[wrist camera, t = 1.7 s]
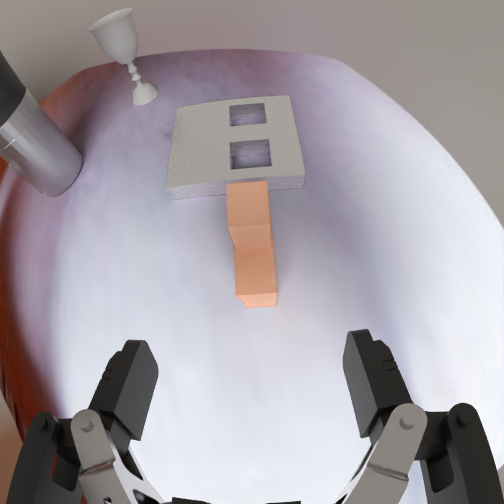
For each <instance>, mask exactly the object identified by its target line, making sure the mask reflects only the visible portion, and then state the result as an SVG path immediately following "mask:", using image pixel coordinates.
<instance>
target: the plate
mask: <svg viewBox="0 0 504 504" xmlns="http://www.w3.org/2000/svg"><path fill="white" fill-rule="evenodd" d="M264 117H265V121H266V123H264V124H251V125H240V126H232V120H240V119H251V118H264ZM258 154H270V163H271V166H268V167H255V168H244V169H233V157H236V156H246V155H258ZM262 180H267V183H268V190H278V189H294V188H303V186H304V180H305V169H304V164H303V159H302V153H301V148H300V143H299V139H298V134H297V129H296V124H295V120H294V115H293V111H292V106H291V102H290V98H289V95H287V96H266V97H253V98H242V99H232V100H224V101H216V102H209V103H202V104H196V105H190V106H184V107H179V108H177V112H176V118H175V124H174V130H173V136H172V143H171V150H170V158H169V166H168V174H167V183H166V189H167V190H168V192H169V193H170V195H171V196H172V198H173V199H174V200H176V199H184V198H193V197H201V196H210V195H220V194H227V186H226V185H229V184H232V183H239V182H250V181H262Z"/></svg>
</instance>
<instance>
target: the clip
mask: <svg viewBox="0 0 504 504" xmlns="http://www.w3.org/2000/svg"><path fill="white" fill-rule="evenodd" d="M226 186H227V228H228V231H229V233H230V236H231V238H232V241H233V243H234V260H235V284H236V296H237V297H238V298H239V300H240V301H242V303H243V304H244V305H245V306H246V307H247V308H254V307H268V306H276V298H277V286H276V273H275V261H274V249H273V237H272V226H271V215H270V204H269V193H268V183H267V180H262V181H250V182H239V183H232V184H229V185H226Z"/></svg>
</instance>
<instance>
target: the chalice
mask: <svg viewBox="0 0 504 504" xmlns="http://www.w3.org/2000/svg"><path fill="white" fill-rule="evenodd" d="M131 15H132V8H126V9H122V10H119V11H116V12H114V13H112V14H110V15H107V16H106V17H104V18H102V19H100V20H99V21H97V22H96V23H94V24H93V25H92V26H91V27H90V28H89V29H88V31H89V32H91V33H93V34H94V36H95V38H96V40H97V42H98V44H99V46H100V48H101V50H102V51H103V52H104V53H105V54H107V55H108V56H109V57H110V58H112V59H113V60H115V61H117V62H118V63H120V64H127V65H128V68H129V71H128V72H129V73H131V74H132V77H133V78H132V81H135V82H136V84H137V86H136V88H135V89H134V91H133V104H134V105H136V106H142V105H145V104H148V103H150V102H151V101H153V100H154V99H155V98H156V97H157V95H158V93H159V91H158V89H156V88H155V87H154V86H152V85H151V84H149V83H142V82H141V75H140V74H138V73H137V67H135V66H134V64H133V61H132V60H134V59H135V58H136V54H137V48H138V32H137V29H136V27H135V24H134V22H133V19H132V16H131Z"/></svg>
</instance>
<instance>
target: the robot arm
mask: <svg viewBox="0 0 504 504" xmlns="http://www.w3.org/2000/svg"><path fill="white" fill-rule="evenodd" d="M0 156H1V157H2V158H3V159H5V160H6V161H7V162H8V163H9V166H10V168H11V169H13V170H14V171H15V172H16V173H17V174H19V175H20V176H21V177H22V178H23V179H25V180H26V181H27V182H28V183H30V184H31V185H32V186H33V187H35V188H36V189H37V190H39V191H40V192H41V193H43V192H44V193H46V194H47V195H49V196H57V195H59V194H61V193H62V192H64V191H65V190H66V189H67V188H68V187H69V186H70V185H71V184H72V183H73V182H74V180H75V179H76V177H77V176H78V174H79V172H80V169H81V167H82V162H83V158H82V155H81V153H80V152H79V151H78V150H77V149H76V147H75V146H74V145H73V144H72V143H71V142H70V140H69V139H68V138H67V137H66V136H65V135H64V134H63V132H62V131H61V130H60V129H59V128H58V127H57V125H56V124H55V123H54V122H53V121H52V119H51V118H50V117H49V116H48V115H47V113H46V112H45V111H44V110H43V109H42V107H41V106H40V105H39V104H38V102H37V101H36V100H35V99H34V98H33V96H32V95H31V94H30V93H29V91H28V90H27V89H26V88H25V86H24V85H23V84H22V83H21V81H20V80H19V78H18V77H17V75H16V74H15V72H14V71H13V70H12V68H11V67H10V65H9V64H8V62H7V61H6V60H5V58H4V56H3V54H2V53H1V51H0ZM343 369H344V373H345V377H346V381H347V385H348V388H349V392H350V396H351V400H352V404H353V408H354V412H355V416H356V420H357V424H358V428H359V432H360V437H361V438H364V437H370V441H371V445H370V446H369V448H368V450H367V452H366V454H365V456H364V457H363V459H362V461H361V463H360V464H359V466H358V468H357V469H356V471H355V473H354V474H353V476H352V478H351V479H350V481H349V482H348V484H347V485H346V487H345V488H344V489H343V491H342V492H341V493H340V495H339V496H338V497H337V499H336V500H335V502H334V503H333V504H398V503H399V501H400V499H401V497H402V495H403V493H404V491H405V489H406V487H407V485H408V481H409V478H408V472H409V470H410V467H411V465H412V463H413V461H414V460H420V465H421V470H422V475H423V480H424V485H425V491H426V496H427V503H428V504H504V499H503V494H502V490H501V485H500V481H499V477H498V473H497V469H496V465H495V462H494V458H493V455H492V452H491V449H490V446H489V443H488V440H487V437H486V434H485V431H484V428H483V426H482V423H481V420H480V418H479V415H478V413H477V411H476V409H475V408H474V407H473V406H472V405H470V404H467V403H459V404H456V405H455V406H453V407H452V408H451V409H450V411H448V412H428V411H424V410H423V409H422V408H421V407H420V406H418V405H415V404H414V403H413V401H412V400H411V397H410V395H409V392H408V390H407V388H406V385H405V383H404V380H403V378H402V376H401V373H400V371H399V369H398V366H397V364H396V362H395V361H394V357H393V355H392V353H391V351H390V348H389V347H388V346H386V345H385V344H384V343H383V342H382V341H381V340H377V341H373V339H372V336H371V334H370V332H369V330H368V329H363V330H356V331H349V332H348V335H347V340H346V345H345V349H344V354H343ZM157 379H158V365H157V363H156V360H155V358H154V356H153V354H152V352H151V350H150V348H149V346H148V344H147V342H146V341H145V340H127V341H126V343H125V345H124V347H123V349H122V351H117V352H116V353H115V354H114V355H113V357H112V358H111V359H110V360H109V362H108V364H107V366H106V369H105V371H104V373H103V375H102V379H101V380H100V382H99V384H98V386H97V389H96V391H95V393H94V396H93V398H92V400H91V403H90V405H89V407H88V409H85V410H81V411H79V412H78V413H77V414H75V416H74V417H73V418H69V419H56V418H55V417H54V416H53V415H52V414H51V413H49V412H46V411H43V412H40V413H38V414H36V415H35V416H34V418H33V419H32V421H31V424H30V427H29V429H28V432H27V434H26V437H25V440H24V443H23V446H22V448H21V451H20V454H19V457H18V461H17V464H16V467H15V470H14V474H13V477H12V481H11V485H10V489H9V493H8V497H7V502H6V504H80V501H81V496H82V490H83V492H84V495H85V497H86V500H87V502H88V504H210V503H207V502H204V501H198V500H189V499H182V498H176V497H172V502H165V503H164V501H163V499H162V498H161V496H160V495H159V494H158V492H157V491H156V490H155V489H154V488H153V487H152V486H151V484H150V483H149V482H148V480H147V478H146V477H145V475H144V473H143V471H142V469H141V467H140V465H139V463H138V461H137V459H136V457H135V455H134V453H133V451H132V449H131V447H130V446H129V444H130V440H131V439H132V440H138V441H140V440H141V436H142V432H143V428H144V425H145V421H146V417H147V414H148V410H149V406H150V403H151V399H152V396H153V392H154V389H155V385H156V382H157ZM55 454H58V459H57V462H56V466H55V470H54V473H53V477H52V480H51V478H50V472H51V468H52V464H53V461H54V457H55ZM267 504H301V501H294V502H281V503H267Z"/></svg>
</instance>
